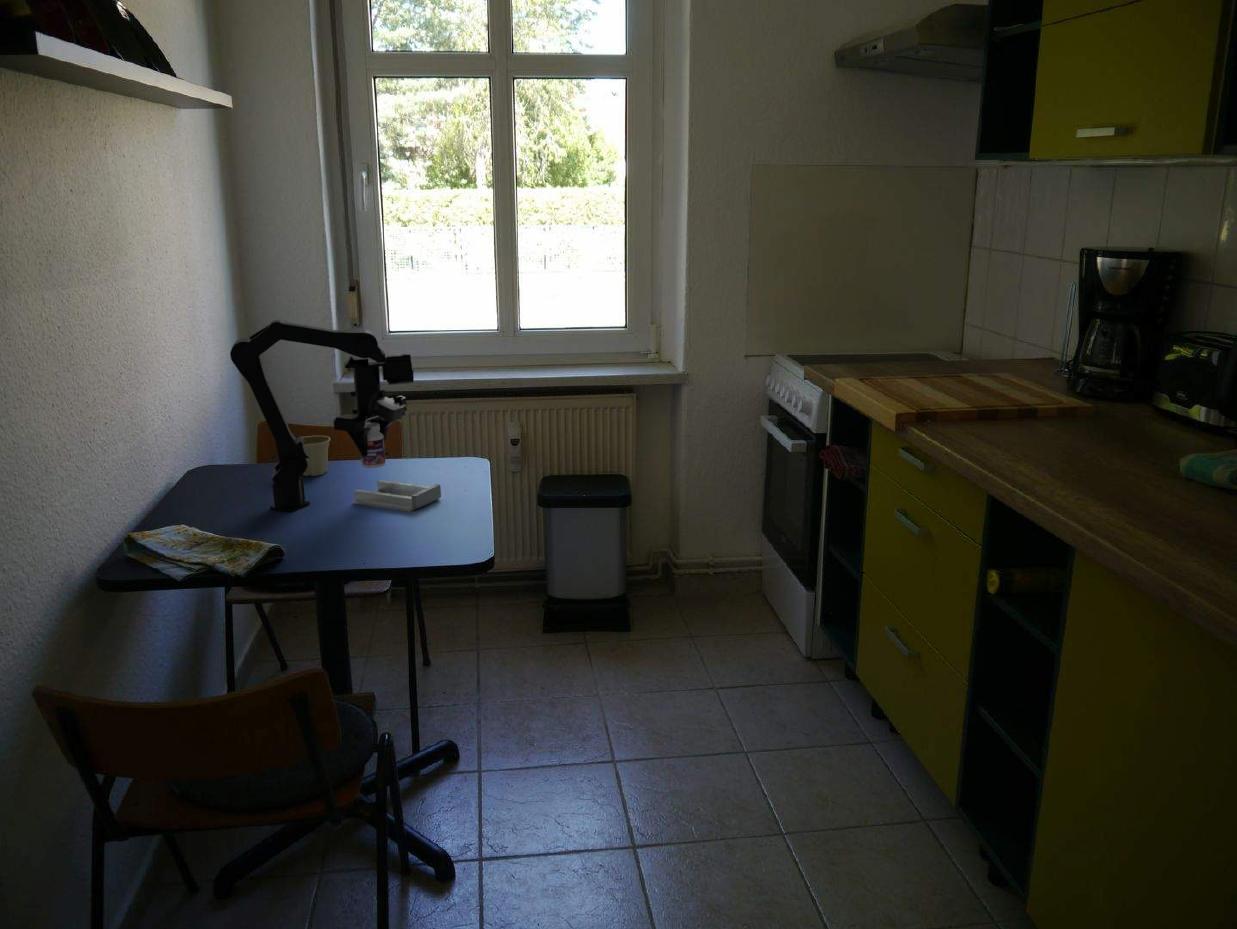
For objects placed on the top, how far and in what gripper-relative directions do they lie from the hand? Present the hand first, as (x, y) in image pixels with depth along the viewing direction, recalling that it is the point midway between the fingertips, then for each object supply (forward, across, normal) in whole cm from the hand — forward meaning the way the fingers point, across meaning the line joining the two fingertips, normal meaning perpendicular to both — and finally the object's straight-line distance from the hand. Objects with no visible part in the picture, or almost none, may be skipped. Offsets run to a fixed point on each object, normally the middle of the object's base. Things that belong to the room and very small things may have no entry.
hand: (372, 452), depth 237 cm
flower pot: (+11, +11, +28) cm, 32 cm away
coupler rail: (+11, 0, -6) cm, 12 cm away
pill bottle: (+3, 0, 0) cm, 3 cm away
